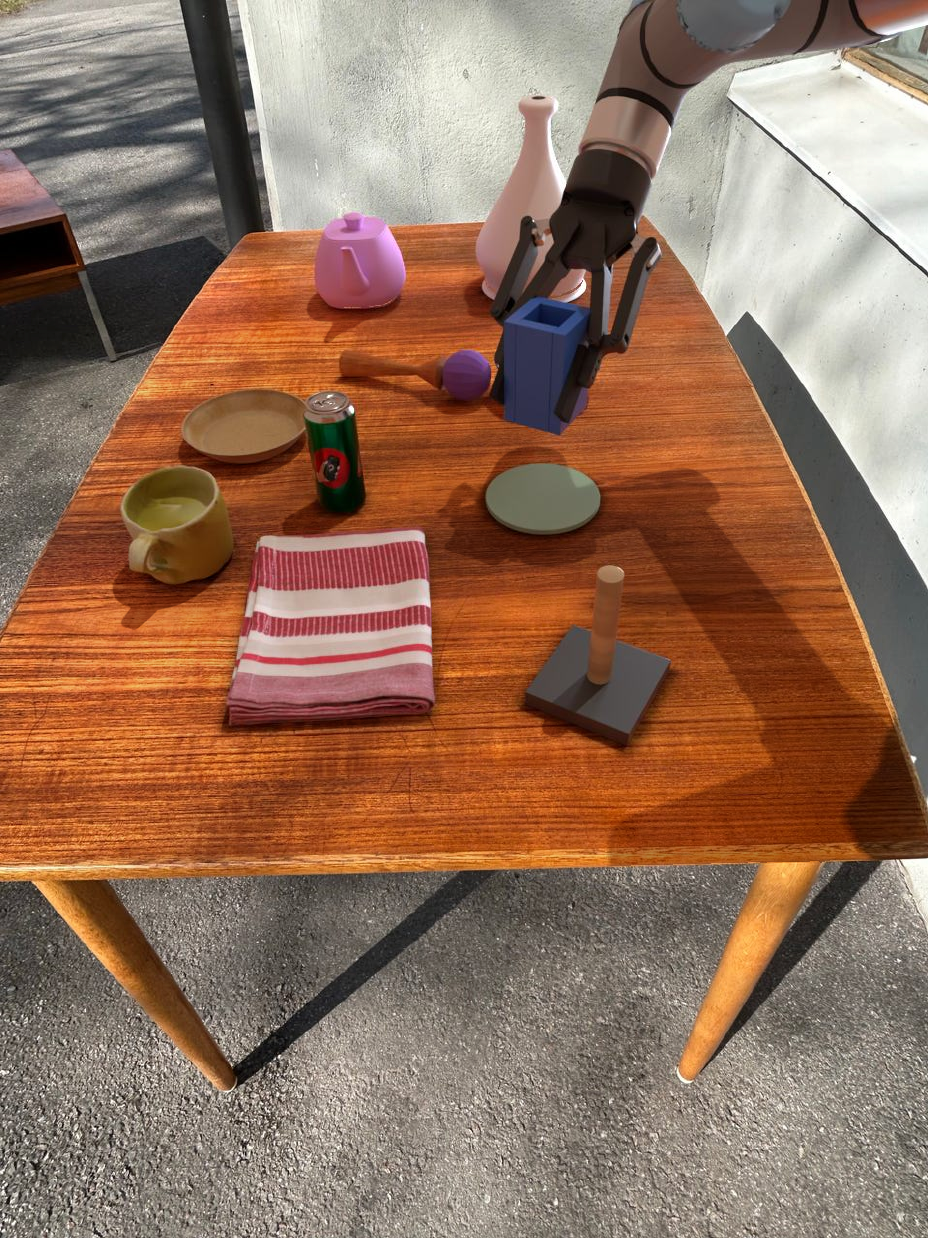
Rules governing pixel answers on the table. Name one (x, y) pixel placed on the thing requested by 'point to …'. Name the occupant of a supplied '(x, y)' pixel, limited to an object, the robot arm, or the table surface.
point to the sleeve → (541, 361)
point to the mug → (177, 525)
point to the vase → (526, 203)
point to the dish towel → (335, 629)
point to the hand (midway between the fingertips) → (528, 408)
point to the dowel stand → (599, 671)
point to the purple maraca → (428, 371)
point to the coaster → (542, 499)
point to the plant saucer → (245, 425)
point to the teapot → (358, 263)
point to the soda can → (334, 451)
